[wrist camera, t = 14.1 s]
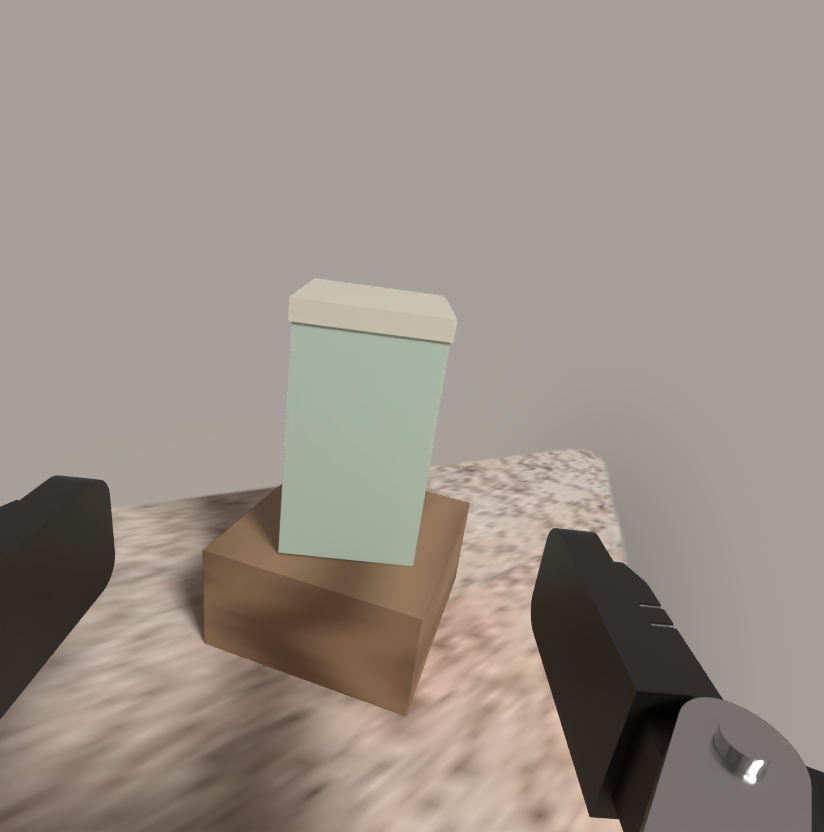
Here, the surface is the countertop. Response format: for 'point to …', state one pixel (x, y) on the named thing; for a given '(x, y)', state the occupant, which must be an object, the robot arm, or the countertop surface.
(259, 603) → the walnut box
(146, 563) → the countertop surface
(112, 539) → the robot arm
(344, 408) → the tea tin
